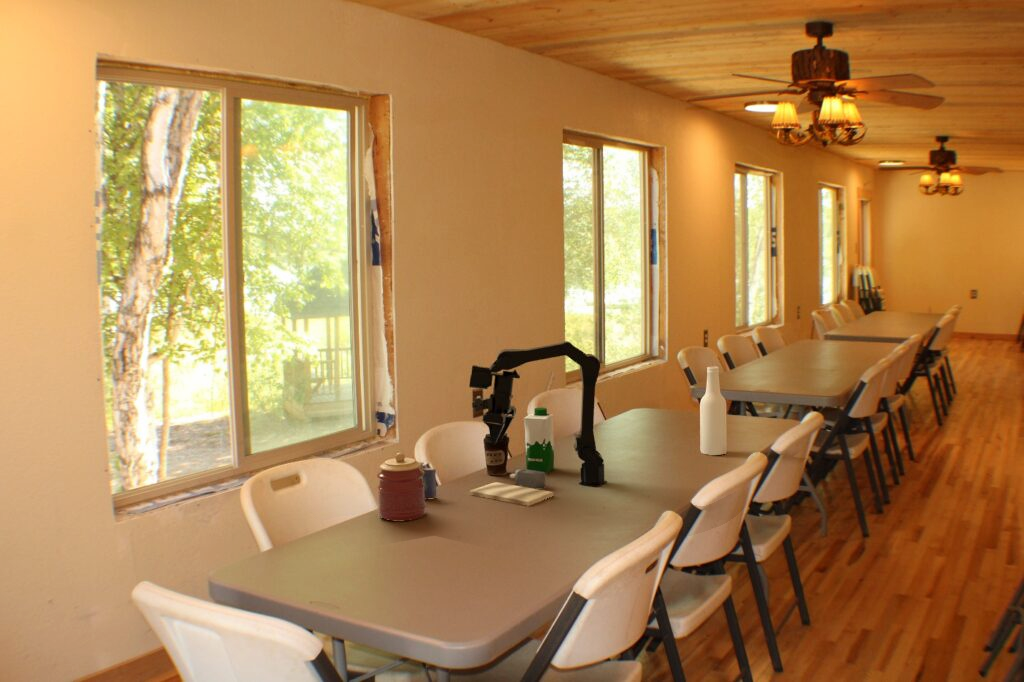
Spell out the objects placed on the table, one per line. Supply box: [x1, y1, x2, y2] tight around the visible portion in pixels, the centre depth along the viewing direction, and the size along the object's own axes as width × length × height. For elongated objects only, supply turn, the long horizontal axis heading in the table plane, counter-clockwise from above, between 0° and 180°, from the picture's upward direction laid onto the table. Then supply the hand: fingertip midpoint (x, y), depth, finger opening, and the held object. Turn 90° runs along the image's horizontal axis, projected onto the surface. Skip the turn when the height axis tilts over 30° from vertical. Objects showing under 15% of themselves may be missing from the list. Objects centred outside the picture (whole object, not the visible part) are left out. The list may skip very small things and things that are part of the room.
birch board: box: [469, 481, 554, 507], centre depth 276 cm, size 22×12×1 cm, turn 52°
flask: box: [420, 461, 437, 498], centre depth 276 cm, size 9×3×11 cm, turn 68°
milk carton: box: [523, 407, 555, 474], centre depth 304 cm, size 9×9×20 cm
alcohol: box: [699, 365, 728, 455], centre depth 320 cm, size 9×9×30 cm
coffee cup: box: [483, 432, 510, 476], centre depth 302 cm, size 9×8×13 cm
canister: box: [376, 452, 427, 521], centre depth 258 cm, size 13×13×18 cm
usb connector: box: [509, 468, 546, 489], centre depth 287 cm, size 13×4×4 cm, turn 52°
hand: (496, 441), depth 284 cm, fingers open, 9 cm apart
